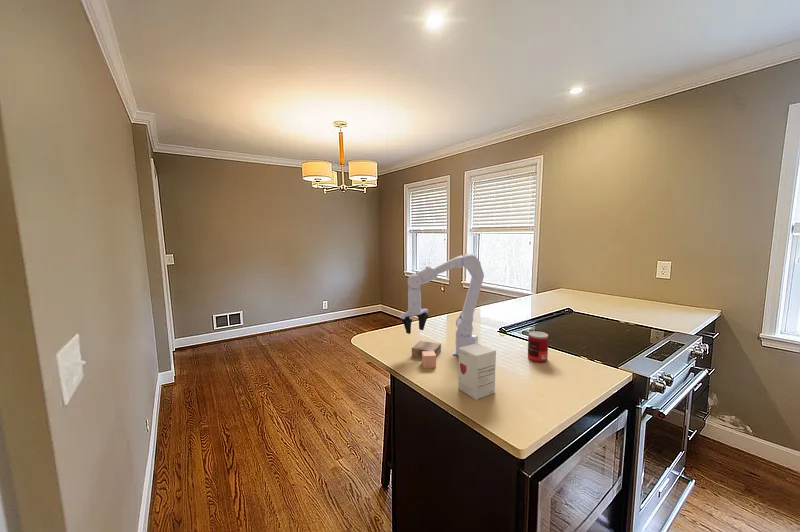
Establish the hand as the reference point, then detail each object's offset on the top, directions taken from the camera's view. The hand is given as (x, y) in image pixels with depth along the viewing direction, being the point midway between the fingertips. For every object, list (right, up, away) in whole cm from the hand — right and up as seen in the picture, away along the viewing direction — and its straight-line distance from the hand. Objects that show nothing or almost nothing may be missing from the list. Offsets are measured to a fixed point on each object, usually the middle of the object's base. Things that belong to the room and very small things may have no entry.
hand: (415, 331), depth 145 cm
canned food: (+51, -10, -8) cm, 53 cm away
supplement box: (+19, -14, -34) cm, 42 cm away
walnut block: (+5, -10, 0) cm, 11 cm away
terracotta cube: (+5, -11, -12) cm, 18 cm away
